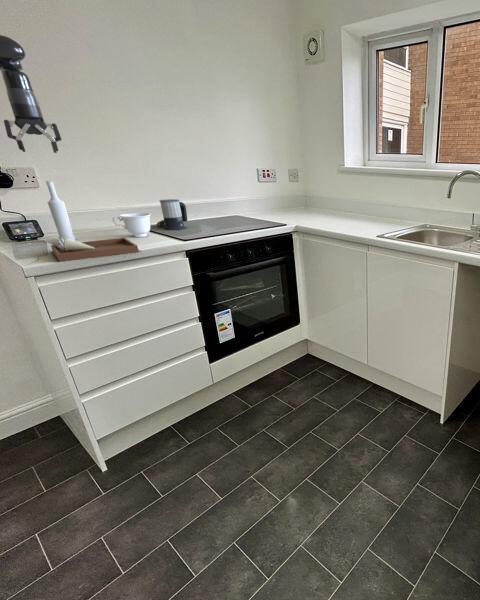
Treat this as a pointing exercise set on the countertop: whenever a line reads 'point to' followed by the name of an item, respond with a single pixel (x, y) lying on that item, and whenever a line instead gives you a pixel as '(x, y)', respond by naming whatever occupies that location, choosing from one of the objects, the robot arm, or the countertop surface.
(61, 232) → the bottle
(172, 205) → the milk frother
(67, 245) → the ice cream cone
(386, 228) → the countertop surface
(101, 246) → the serving tray
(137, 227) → the teacup
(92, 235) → the countertop surface
